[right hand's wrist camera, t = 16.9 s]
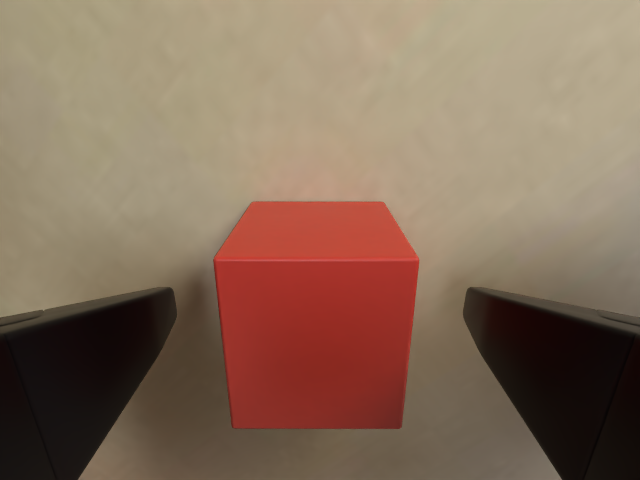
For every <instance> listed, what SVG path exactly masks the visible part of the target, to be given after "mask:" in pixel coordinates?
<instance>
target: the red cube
mask: <svg viewBox="0 0 640 480" xmlns="http://www.w3.org/2000/svg"><path fill="white" fill-rule="evenodd" d="M213 262H214V271H215V280H216V289H217V298H218V307H219V316H220V325H221V334H222V343H223V352H224V361H225V370H226V379H227V388H228V397H229V406H230V415H231V424H232V427H233V428H235V429H400V428H401V427H402V420H403V410H404V401H405V391H406V382H407V372H408V363H409V353H410V344H411V334H412V325H413V315H414V306H415V296H416V287H417V277H418V268H419V258H418V256H417V255H416V253H415V251H414V250H413V248H412V247H411V245H410V243H409V242H408V240H407V239H406V237H405V235H404V234H403V232H402V231H401V229H400V227H399V226H398V224H397V223H396V221H395V219H394V218H393V216H392V215H391V213H390V212H389V210H388V208H387V207H386V205H385V204H384V202H252V203H251V204H250V205H249V207H248V208H247V210H246V211H245V213H244V214H243V216H242V217H241V219H240V220H239V222H238V223H237V225H236V226H235V228H234V229H233V230H232V232H231V233H230V235H229V236H228V238H227V239H226V241H225V242H224V244H223V245H222V247H221V248H220V250H219V251H218V253H217V254H216V255H215V257H214V259H213Z"/></svg>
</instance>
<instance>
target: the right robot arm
mask: <svg viewBox="0 0 640 480" xmlns="http://www.w3.org/2000/svg"><path fill="white" fill-rule="evenodd" d="M176 317H177V309H176V303H175V297H174V292H173V289H172V288H170V287H157V288H152V289H147V290H142V291H137V292H132V293H127V294H122V295H117V296H112V297H107V298H101V299H96V300H91V301H86V302H81V303H76V304H71V305H66V306H61V307H56V308H51V309H46V310H44V311H43V310H38V311H33V312H28V313H22V314H17V315H12V316H7V317H1V318H0V480H78V479H79V477H80V476H81V474H82V472H83V471H84V469H85V468H86V466H87V465H88V463H89V462H90V460H91V459H92V457H93V455H94V454H95V452H96V451H97V449H98V448H99V446H100V445H101V443H102V442H103V440H104V439H105V437H106V435H107V434H108V432H109V431H110V429H111V428H112V426H113V425H114V423H115V422H116V420H117V419H118V417H119V415H120V414H121V412H122V411H123V409H124V408H125V406H126V405H127V403H128V402H129V400H130V398H131V397H132V395H133V394H134V392H135V391H136V389H137V388H138V386H139V385H140V383H141V382H142V380H143V378H144V377H145V375H146V374H147V372H148V371H149V369H150V368H151V366H152V365H153V363H154V362H155V360H156V358H157V357H158V355H159V353H160V352H161V350H162V348H163V346H164V344H165V341H166V339H167V337H168V335H169V333H170V331H171V329H172V327H173V325H174V323H175V320H176ZM463 317H464V320H465V323H466V325H467V327H468V329H469V331H470V333H471V335H472V337H473V339H474V341H475V344H476V346H477V348H478V350H479V352H480V353H481V355H482V357H483V358H484V360H485V362H486V363H487V365H488V366H489V368H490V369H491V371H492V372H493V374H494V375H495V377H496V378H497V380H498V382H499V383H500V385H501V386H502V388H503V389H504V391H505V392H506V394H507V395H508V397H509V398H510V400H511V402H512V403H513V405H514V406H515V408H516V409H517V411H518V412H519V414H520V415H521V417H522V418H523V420H524V422H525V423H526V425H527V426H528V428H529V429H530V431H531V432H532V434H533V435H534V437H535V439H536V440H537V442H538V443H539V445H540V446H541V448H542V449H543V451H544V452H545V454H546V455H547V457H548V459H549V460H550V462H551V463H552V465H553V466H554V468H555V469H556V471H557V472H558V474H559V476H560V477H561V479H562V480H640V318H639V317H633V316H628V315H623V314H618V313H612V312H607V311H602V310H597V311H596V310H594V309H590V308H584V307H579V306H574V305H569V304H564V303H559V302H554V301H549V300H544V299H539V298H534V297H528V296H523V295H518V294H513V293H508V292H503V291H498V290H493V289H488V288H483V287H470V288H468V289H467V292H466V297H465V303H464V309H463Z"/></svg>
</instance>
